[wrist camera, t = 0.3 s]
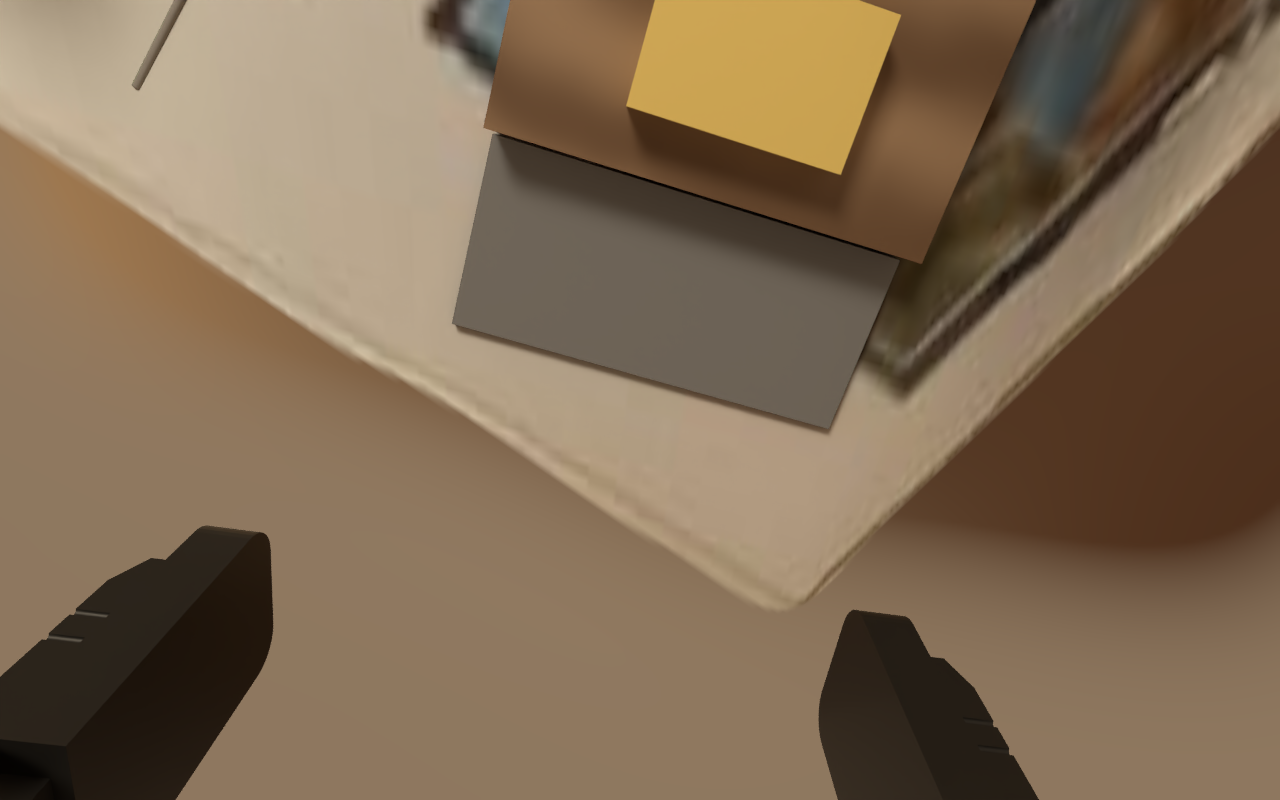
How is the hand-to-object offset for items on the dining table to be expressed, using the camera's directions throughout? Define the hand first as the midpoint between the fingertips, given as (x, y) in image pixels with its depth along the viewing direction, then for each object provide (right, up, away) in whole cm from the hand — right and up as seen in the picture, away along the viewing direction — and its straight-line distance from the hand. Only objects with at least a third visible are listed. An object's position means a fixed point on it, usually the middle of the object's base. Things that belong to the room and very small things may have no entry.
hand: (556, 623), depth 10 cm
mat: (+3, +8, +26) cm, 28 cm away
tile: (+6, +17, +20) cm, 27 cm away
